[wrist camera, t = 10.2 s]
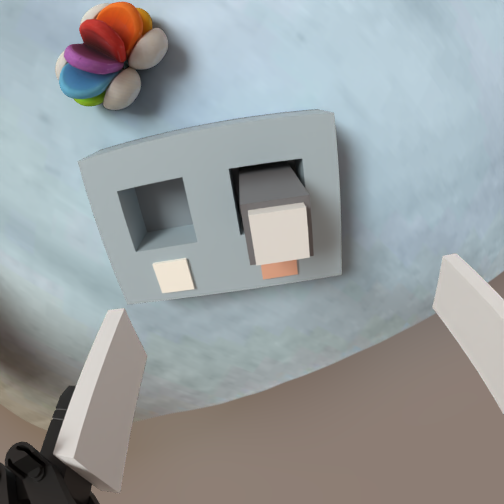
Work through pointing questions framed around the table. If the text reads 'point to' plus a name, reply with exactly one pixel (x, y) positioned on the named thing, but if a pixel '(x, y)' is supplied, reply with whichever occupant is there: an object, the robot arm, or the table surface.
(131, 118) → the table surface
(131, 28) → the rainbow petal fan toy
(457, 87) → the table surface
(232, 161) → the socket box
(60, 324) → the table surface
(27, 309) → the table surface
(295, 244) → the plug
